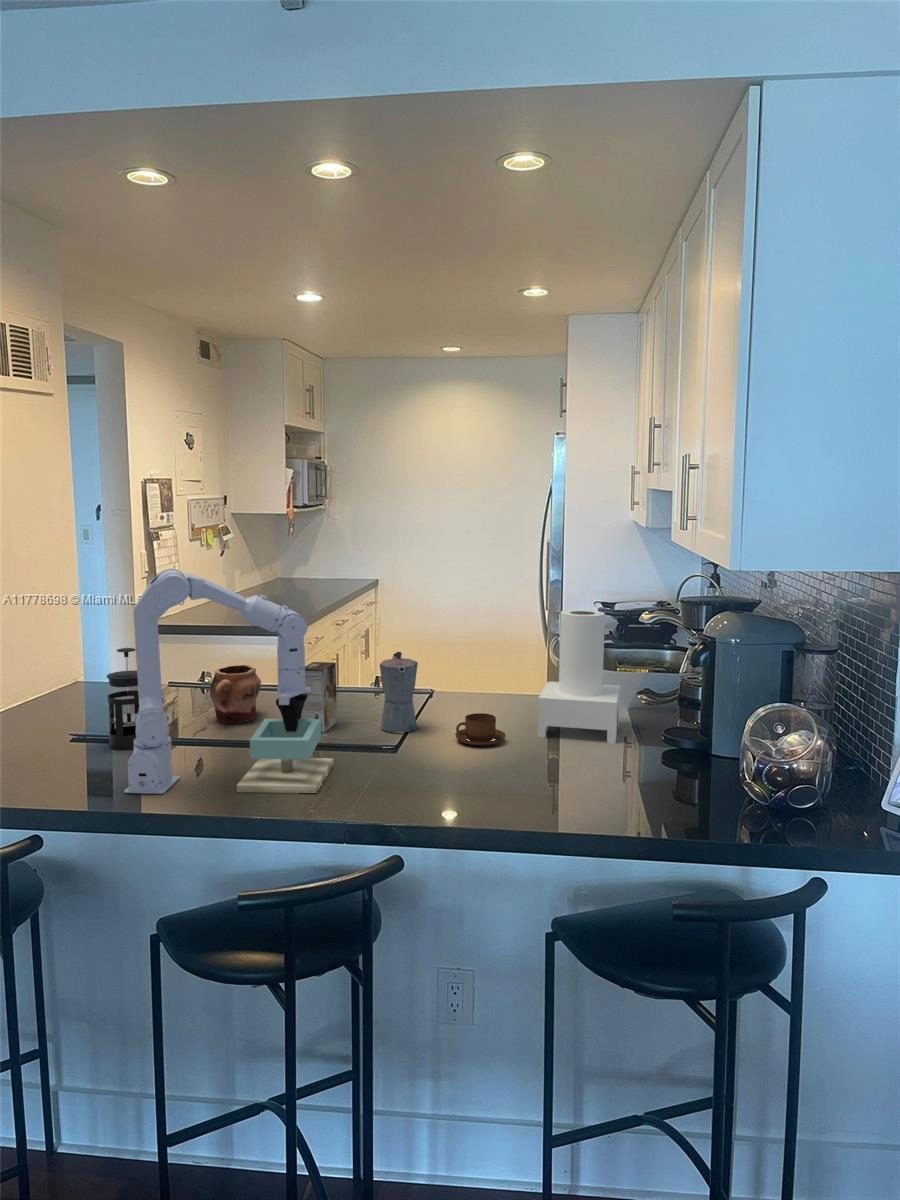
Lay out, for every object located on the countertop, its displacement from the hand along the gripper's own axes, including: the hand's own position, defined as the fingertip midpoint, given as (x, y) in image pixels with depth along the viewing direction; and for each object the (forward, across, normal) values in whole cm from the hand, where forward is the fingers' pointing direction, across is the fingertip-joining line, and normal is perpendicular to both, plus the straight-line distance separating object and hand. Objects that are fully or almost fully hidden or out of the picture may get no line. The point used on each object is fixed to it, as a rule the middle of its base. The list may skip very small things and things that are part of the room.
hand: (292, 729), depth 183 cm
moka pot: (+9, +34, -19) cm, 40 cm away
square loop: (+2, -5, 0) cm, 6 cm away
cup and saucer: (+9, +24, -40) cm, 48 cm away
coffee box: (+9, +34, +1) cm, 35 cm away
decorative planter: (+9, +38, +24) cm, 46 cm away
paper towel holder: (+9, +36, -65) cm, 75 cm away
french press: (+9, +16, +42) cm, 46 cm away
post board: (+9, -5, 0) cm, 10 cm away
